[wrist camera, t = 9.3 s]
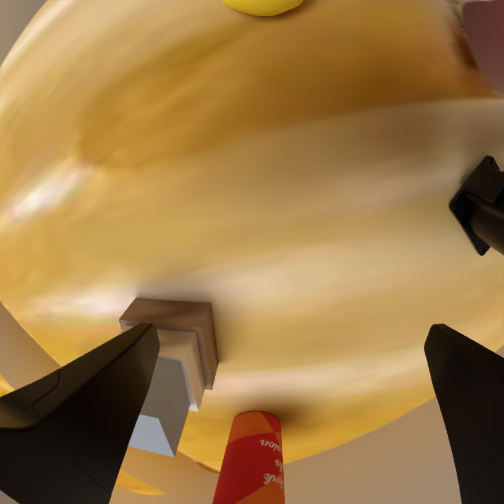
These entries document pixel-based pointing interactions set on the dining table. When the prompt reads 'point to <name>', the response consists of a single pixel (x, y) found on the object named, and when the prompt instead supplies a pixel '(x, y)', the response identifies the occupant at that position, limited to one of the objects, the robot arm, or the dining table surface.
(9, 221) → the dining table surface
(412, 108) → the dining table surface
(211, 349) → the tower base
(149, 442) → the slate brick
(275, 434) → the paper cup
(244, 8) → the lemon
